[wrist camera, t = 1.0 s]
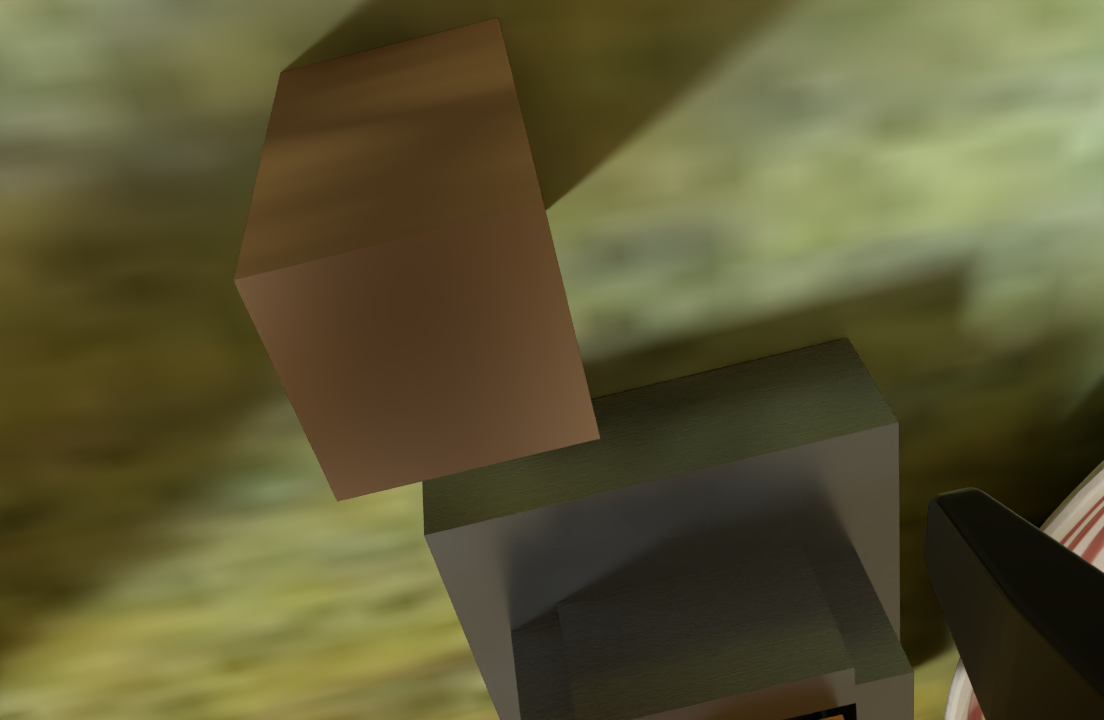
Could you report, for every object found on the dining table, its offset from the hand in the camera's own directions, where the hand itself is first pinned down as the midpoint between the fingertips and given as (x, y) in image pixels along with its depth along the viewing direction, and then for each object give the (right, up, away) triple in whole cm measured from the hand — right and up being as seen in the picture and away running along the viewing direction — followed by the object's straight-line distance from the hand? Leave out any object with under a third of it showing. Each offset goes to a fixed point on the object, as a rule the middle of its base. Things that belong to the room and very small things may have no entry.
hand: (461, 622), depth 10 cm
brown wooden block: (-2, +7, +10) cm, 12 cm away
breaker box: (+4, -4, +18) cm, 19 cm away
